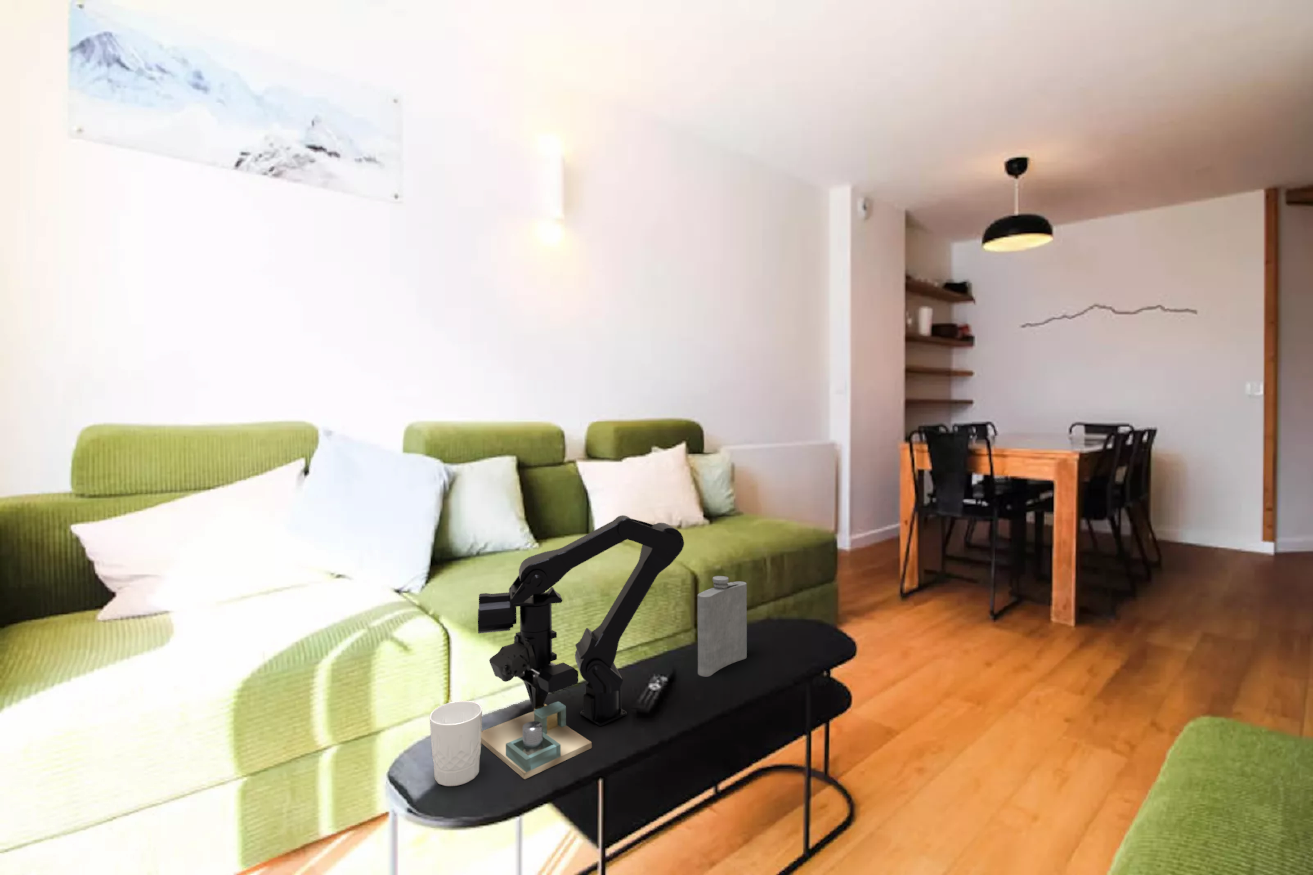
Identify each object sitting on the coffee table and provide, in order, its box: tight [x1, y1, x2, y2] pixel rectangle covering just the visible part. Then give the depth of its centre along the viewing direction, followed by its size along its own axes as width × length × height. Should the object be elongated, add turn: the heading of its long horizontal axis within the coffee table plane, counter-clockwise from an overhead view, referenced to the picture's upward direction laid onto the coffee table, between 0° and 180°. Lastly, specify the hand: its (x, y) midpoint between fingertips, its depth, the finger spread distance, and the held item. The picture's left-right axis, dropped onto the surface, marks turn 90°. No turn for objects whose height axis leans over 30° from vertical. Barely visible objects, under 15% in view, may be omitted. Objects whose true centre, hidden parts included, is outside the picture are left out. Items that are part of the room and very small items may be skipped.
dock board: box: [481, 700, 593, 780], centre depth 104 cm, size 13×16×5 cm
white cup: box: [429, 700, 483, 787], centre depth 95 cm, size 8×8×10 cm
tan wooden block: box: [533, 703, 558, 731], centre depth 109 cm, size 2×4×3 cm, turn 43°
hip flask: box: [697, 575, 748, 677], centre depth 137 cm, size 16×4×20 cm, turn 136°
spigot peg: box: [523, 721, 543, 755], centre depth 98 cm, size 3×3×5 cm
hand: (537, 710), depth 111 cm, fingers closed
